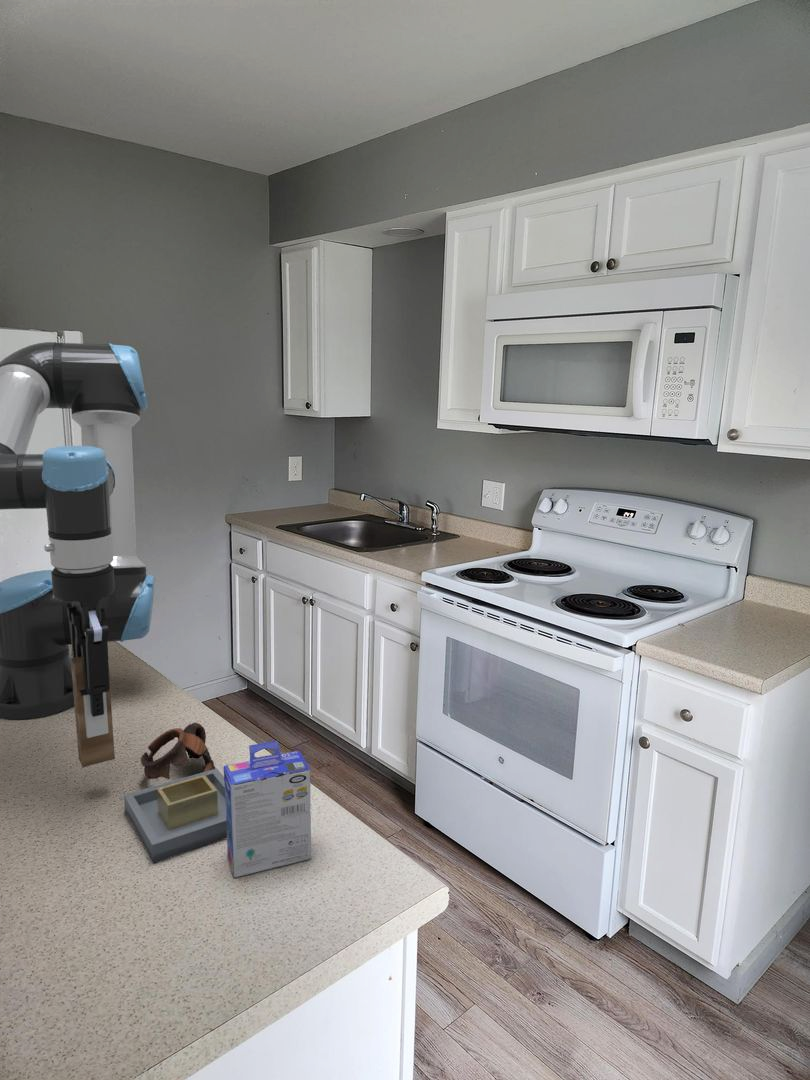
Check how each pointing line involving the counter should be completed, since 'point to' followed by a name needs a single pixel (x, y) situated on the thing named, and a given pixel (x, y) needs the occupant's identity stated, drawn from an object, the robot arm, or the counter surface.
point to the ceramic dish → (180, 839)
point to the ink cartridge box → (267, 810)
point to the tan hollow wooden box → (187, 802)
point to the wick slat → (92, 747)
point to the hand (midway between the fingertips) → (94, 729)
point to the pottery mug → (177, 751)
